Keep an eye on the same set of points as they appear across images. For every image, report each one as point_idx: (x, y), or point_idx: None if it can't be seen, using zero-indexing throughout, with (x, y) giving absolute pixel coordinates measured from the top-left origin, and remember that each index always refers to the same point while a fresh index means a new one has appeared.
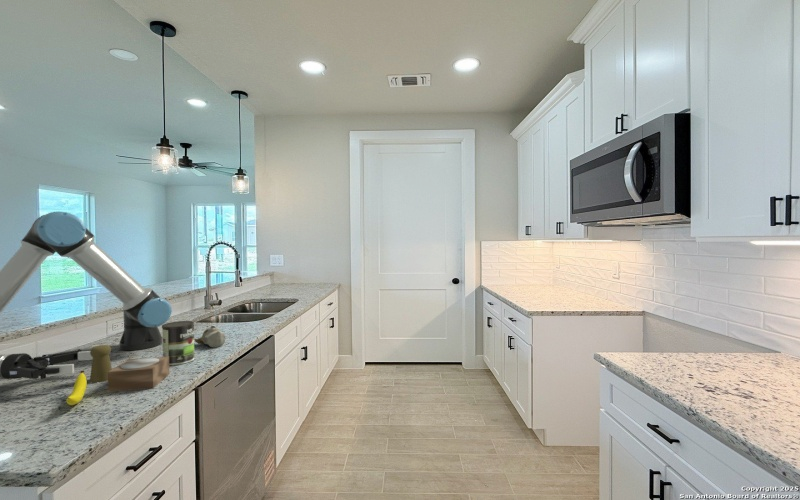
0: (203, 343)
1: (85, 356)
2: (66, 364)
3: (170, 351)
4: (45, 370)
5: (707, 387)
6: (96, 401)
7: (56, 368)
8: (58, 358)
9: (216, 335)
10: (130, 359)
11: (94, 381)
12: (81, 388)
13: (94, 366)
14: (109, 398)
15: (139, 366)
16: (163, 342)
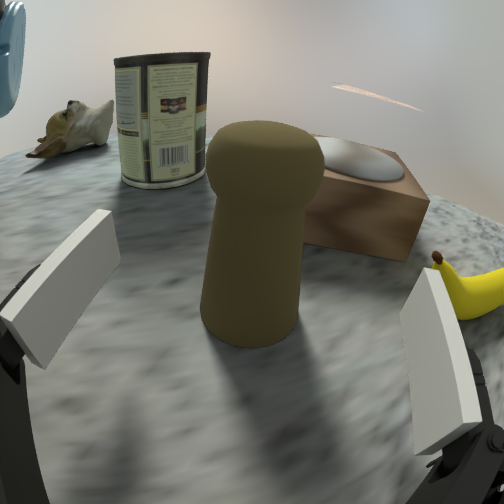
0: (63, 150)
1: (62, 306)
2: (438, 300)
3: (198, 134)
4: (489, 420)
5: (384, 98)
6: (460, 271)
7: (468, 355)
8: (17, 482)
9: (112, 110)
10: None
11: (295, 318)
12: (470, 278)
13: (300, 256)
14: (442, 253)
15: (385, 158)
16: (172, 112)
